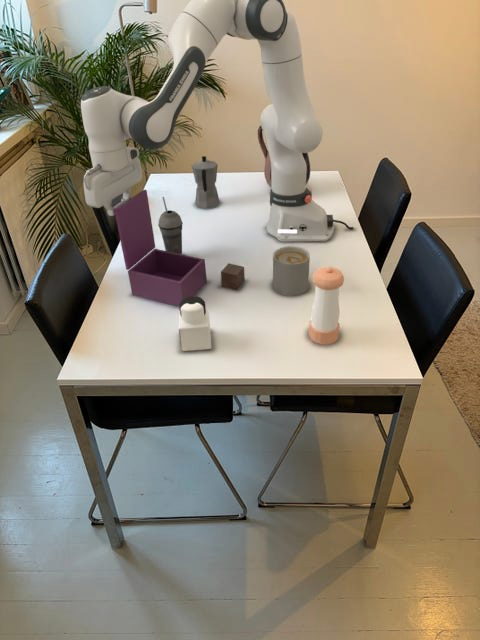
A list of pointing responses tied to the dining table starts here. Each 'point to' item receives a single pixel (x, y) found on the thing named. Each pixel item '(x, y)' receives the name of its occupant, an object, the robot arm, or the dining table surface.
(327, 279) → the salt shaker
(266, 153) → the ceramic pitcher
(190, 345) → the bust figurine
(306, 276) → the coffee mug
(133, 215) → the box file lid
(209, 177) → the coffeepot
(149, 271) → the box
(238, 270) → the block
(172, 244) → the beverage cup
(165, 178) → the dining table surface
